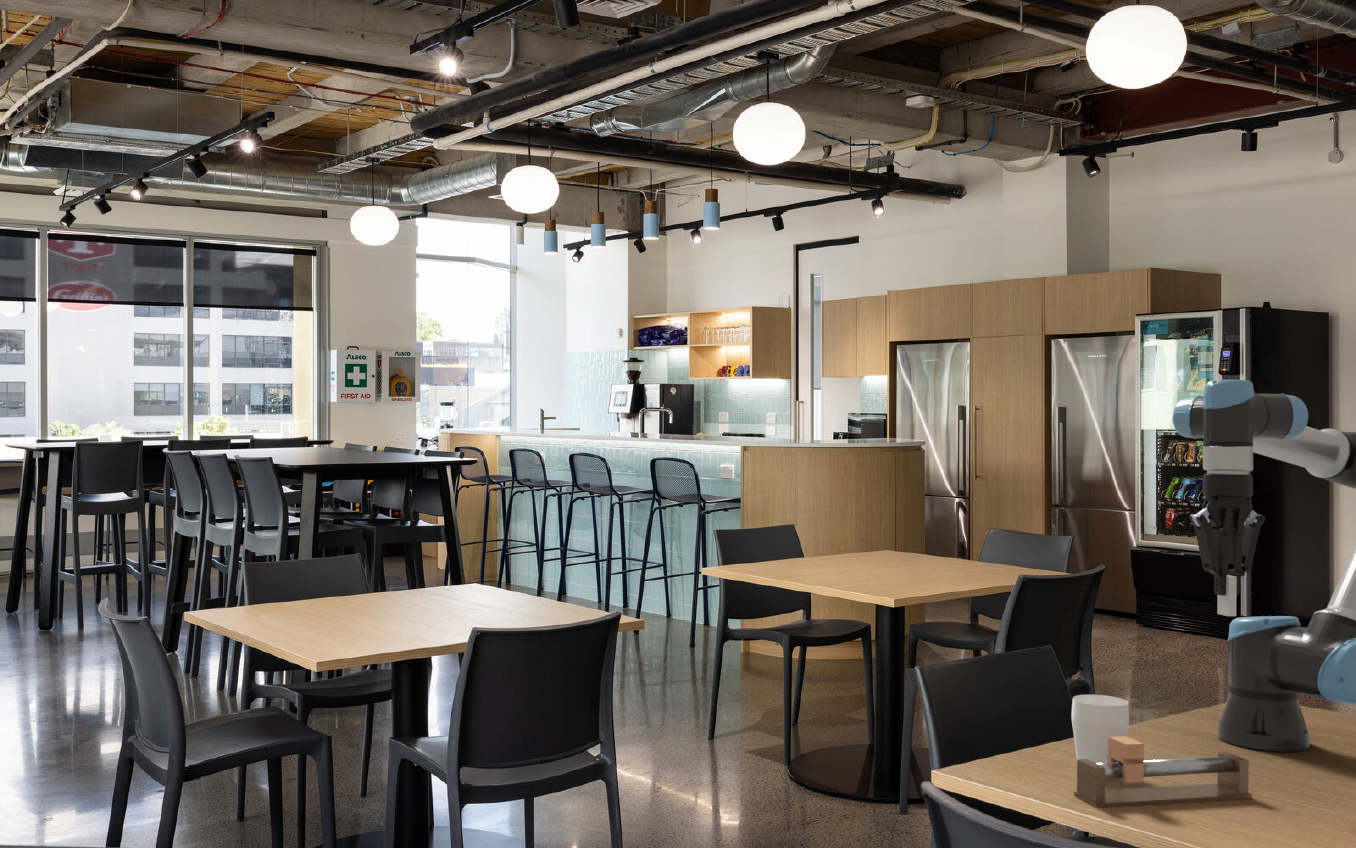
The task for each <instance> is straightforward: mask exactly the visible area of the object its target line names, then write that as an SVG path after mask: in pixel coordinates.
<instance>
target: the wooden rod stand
mask: <svg viewBox="0 0 1356 848" xmlns="http://www.w3.org/2000/svg"><path fill="white" fill-rule="evenodd" d="M1249 764H1250V763H1249V759H1246V758H1243V757H1241V756H1238V755H1236V754H1233V753H1231V752H1228V751H1219V752H1217V756H1208V757H1206V756H1204V757H1191V758H1189V757H1188V758H1172V759H1171V758H1169V759H1167V758H1166V759H1149V760H1144V772H1143V778H1147V777H1168V776H1186V775H1202V774H1203V775H1204V774H1205V775H1207V774H1217V783H1203V784H1191V785H1190V784H1189V785H1188V784H1187V785H1173V786H1172V785H1171V786H1170V785H1169V786H1153V787H1152V786H1151V787H1139V788H1138V787H1136V788H1135V787H1134V788H1121V789H1117V788H1115V789H1106V780H1113V779H1115V780H1116V779H1123V763H1122V762H1107V763H1094V762H1092V761H1090V760H1088V759H1077V758H1076V765H1077V767H1076V791H1073V796H1074V797H1075V796H1076V797H1075V798H1077V797H1078V799H1079V798H1080V800H1081V801H1083V802H1085V801H1086V802H1088V803H1089V804H1088V803H1087V804H1088V805H1091V806H1092V807H1094V806H1095V807H1094V808H1096V807H1101V808H1113V807H1116V806H1118V807H1131V806H1132V807H1133V806H1145V805H1147V806H1148V805H1149V806H1150V805H1163V804H1164V805H1165V804H1167V805H1168V804H1178V803H1179V804H1180V803H1181V804H1182V803H1197V802H1199V803H1200V802H1214V801H1216V802H1217V801H1229V800H1231V801H1232V800H1246V799H1248V800H1249V799H1250V800H1251V799H1252V797H1253V796H1252V794H1251V793H1249V777H1250V774H1249V769H1250V768H1249V766H1250V765H1249ZM1086 802H1085V803H1086Z"/></svg>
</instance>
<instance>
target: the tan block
mask: <svg viewBox="0 0 1356 848" xmlns="http://www.w3.org/2000/svg"><path fill="white" fill-rule="evenodd" d="M1144 745H1145V744H1144V743H1143V742H1141V741H1138V740H1136V739H1133V738H1132V737H1130V736H1129V737H1128V735H1127V736H1117V737H1108V762H1122V763H1123V778H1122V782H1123V783H1124V784H1133V783H1144V777H1143V772H1144V761H1145V759H1144V757H1145V756H1144V754H1145V753H1144V751H1145V750H1144V748H1145V746H1144Z"/></svg>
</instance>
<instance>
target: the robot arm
mask: <svg viewBox="0 0 1356 848" xmlns="http://www.w3.org/2000/svg"><path fill="white" fill-rule="evenodd" d="M1173 408H1174V409H1173V414H1172V425H1173V427H1174V429H1175V430H1176V432H1177V433H1178V434H1179V436H1181V437H1184V438H1187V439H1188V438H1189V439H1194V440H1198V439H1203V441H1202V444H1203V445H1202V447H1203V448H1202V449H1203V451H1202V459H1203V460H1202V469H1203V470H1204V471H1206V473H1204V475H1202V494H1203V496H1204V501H1203V504H1202V506H1201V507H1202V508H1201V510H1200V511H1198V512H1196V514H1195V513H1192V514H1190V515H1189V520H1190V523H1191V524H1192V525H1193V528H1194V530H1195V536H1196V541H1197V545H1198V550H1199V555H1200V559H1201V565H1202V569H1203V570H1204V571H1206V572H1209V573H1210V574H1211V575H1213V576H1214V578H1213V581H1214V583H1213V584H1214V585H1213V586H1214V587H1213V592H1214V594H1215V595H1217V603H1216V604H1217V610H1216V611H1217V612H1216V613H1217V615H1221V616H1226V617H1236V618H1234V619H1232V621H1231V622H1230V623H1229V630H1228V631H1229V632H1228V638H1227V646H1228V647H1227V653H1228V655H1227V656H1228V658H1227V660H1228V661H1227V663H1228V664H1227V665H1228V666H1227V668H1228V669H1227V672H1228V674H1227V676H1228V680H1227V681H1228V691H1227V692H1228V696H1227V699H1226V702H1225V704H1224V708H1223V710H1222V714H1221V717H1220V720H1219V721H1218V723H1217V737H1218V738H1219V739H1220V740H1222V741H1223V742H1226V743H1228V744H1232V745H1235V746H1239V747H1244V748H1249V749H1255V750H1262V751H1271V752H1299V751H1301V752H1302V751H1305V750H1308V749H1309V748H1310V732H1309V730H1308V729H1307V725H1306V721H1305V717H1304V714H1303V711H1302V708H1301V706H1300V701H1299V700H1300V699H1299V697H1300V695H1299V694H1302V695H1307V696H1311V697H1315V698H1319V699H1323V700H1327V701H1329V702H1332V703H1337V704H1339V703H1343V704H1350V705H1356V542H1355V543H1354V546H1353V548H1352V550H1351V552H1350V555H1349V557H1348V559H1347V561H1346V564H1345V566H1344V568H1343V570H1342V573H1341V575H1340V578H1339V579H1338V582H1337V584H1336V586H1335V589H1334V590H1333V593H1332V595H1331V598H1330V600H1329V602H1328V604H1327V607H1326V608H1324V609H1321V610H1317V611H1314V612H1313V614H1312V616H1311V619H1310V621H1309V623H1308V625H1307V627H1302V626H1301V623H1300V619H1299V618H1298V617H1296V616H1292V615H1290V616H1289V615H1287V616H1286V615H1284V616H1283V615H1274V616H1272V615H1268V616H1267V615H1266V616H1265V615H1261V616H1242V617H1237V596H1239V595H1240V593H1241V590H1240V589H1241V586H1240V584H1241V582H1240V581H1241V578H1242V577H1244V576H1245V575H1246V573H1250V572H1251V571H1252V567H1253V562H1254V558H1255V553H1256V548H1257V544H1258V539H1259V535H1260V530H1261V528H1262V527H1263V524H1264V523H1265V521H1266V516H1265V514H1264V515H1263V514H1258V513H1257V512H1256V511H1254V510H1253V504H1252V502H1251V497H1252V496H1253V493H1254V490H1253V489H1254V482H1253V481H1254V476H1252V474H1250V472H1252V471H1253V470H1254V454H1258V455H1261V456H1265V457H1268V458H1271V459H1274V460H1277V461H1280V462H1286V463H1288V464H1291V465H1295V466H1298V467H1302V468H1305V469H1306V471H1307V472H1308V473H1309V474H1310V475H1312V476H1314V477H1317V478H1319V479H1322V480H1325V481H1330V482H1332V483H1335V484H1337V485H1341V486H1343V487H1344V486H1345V487H1348V488H1350V489H1353V490H1356V431H1343V430H1338V429H1334V428H1323V429H1320V430H1319V429H1318V428H1313V427H1311V426H1307V425H1308V423H1309V412H1308V408H1307V406H1306V404H1305V402H1304V401H1303V400H1302V399H1301V398H1300V397H1297V396H1295V395H1290V394H1285V393H1284V392H1282V393H1255V390H1254V384H1253V382H1252V381H1250V380H1247V379H1214V380H1209V381H1208V382H1207V383H1206V384H1205V385H1204V391H1203V396H1201V395H1197V396H1190V397H1186V398H1182V399H1181V400H1179V401H1178V402H1177V403H1176V404H1175V406H1174V407H1173Z"/></svg>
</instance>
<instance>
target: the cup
mask: <svg viewBox="0 0 1356 848" xmlns="http://www.w3.org/2000/svg"><path fill="white" fill-rule="evenodd" d="M1071 703H1072V704H1071V724H1072V732H1073V739H1074V746H1075V747H1074V748H1075V754H1076V755H1075V756H1076V760H1077V759H1088V760H1090V761H1092V762H1094V763H1107V762H1108V737H1117V736H1127V737H1128V733H1129V727H1130V714H1129V713H1130V712H1129V701H1127V700H1126V699H1123V698H1121V697H1116V696H1111V695H1110V696H1109V695H1104V694H1078V695H1075V696H1073V697H1072V702H1071Z"/></svg>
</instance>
